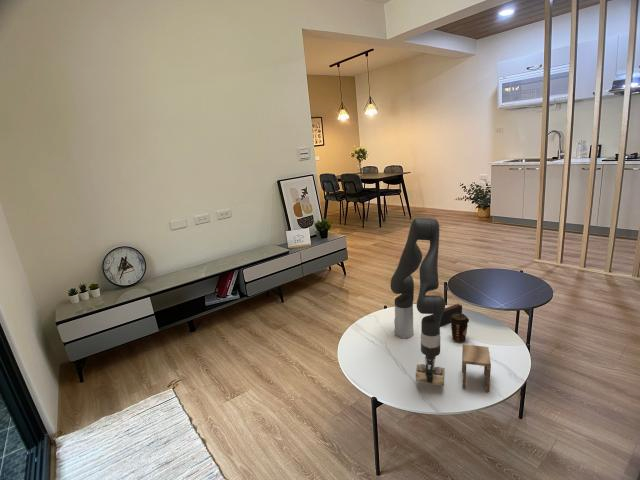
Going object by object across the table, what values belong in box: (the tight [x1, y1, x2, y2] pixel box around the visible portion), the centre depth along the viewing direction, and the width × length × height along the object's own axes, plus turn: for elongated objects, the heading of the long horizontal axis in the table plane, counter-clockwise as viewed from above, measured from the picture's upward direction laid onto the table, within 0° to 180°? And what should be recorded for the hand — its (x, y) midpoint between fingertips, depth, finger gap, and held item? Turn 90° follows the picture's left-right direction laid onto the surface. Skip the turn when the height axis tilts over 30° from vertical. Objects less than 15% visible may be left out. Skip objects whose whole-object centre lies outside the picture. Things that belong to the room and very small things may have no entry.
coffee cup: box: [450, 312, 470, 344], centre depth 176 cm, size 9×8×13 cm
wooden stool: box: [461, 343, 492, 393], centre depth 146 cm, size 10×12×13 cm
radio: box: [440, 303, 463, 328], centre depth 192 cm, size 19×3×15 cm, turn 115°
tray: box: [415, 363, 446, 387], centre depth 146 cm, size 11×6×6 cm, turn 69°
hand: (430, 376), depth 146 cm, fingers closed on tray, 6 cm apart
